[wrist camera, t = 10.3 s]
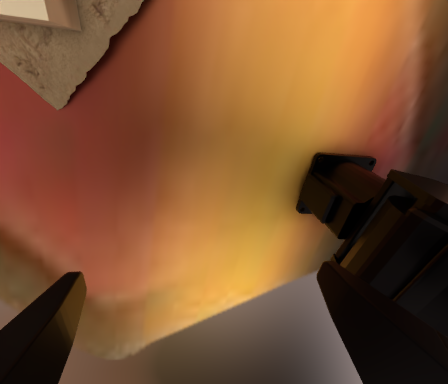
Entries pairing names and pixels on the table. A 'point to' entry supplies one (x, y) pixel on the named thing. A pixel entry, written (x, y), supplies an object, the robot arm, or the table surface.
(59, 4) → the taped cardboard box
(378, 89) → the table surface
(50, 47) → the clay tablet
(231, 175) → the table surface
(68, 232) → the table surface
